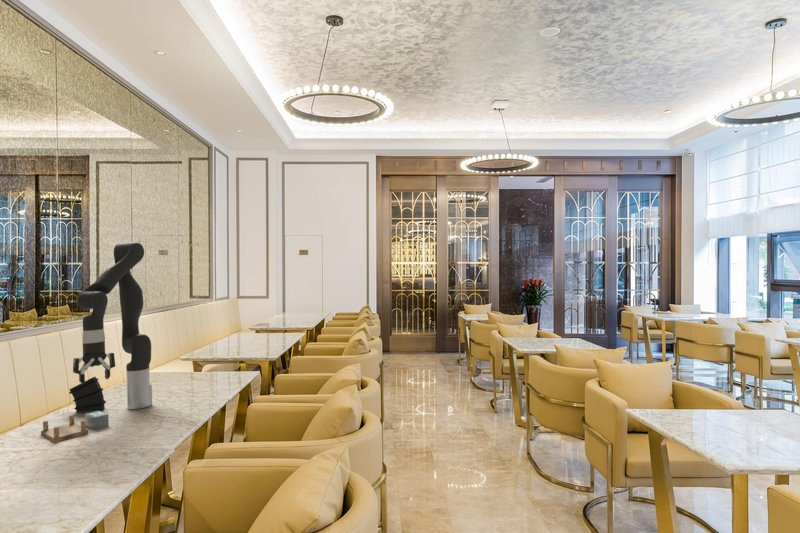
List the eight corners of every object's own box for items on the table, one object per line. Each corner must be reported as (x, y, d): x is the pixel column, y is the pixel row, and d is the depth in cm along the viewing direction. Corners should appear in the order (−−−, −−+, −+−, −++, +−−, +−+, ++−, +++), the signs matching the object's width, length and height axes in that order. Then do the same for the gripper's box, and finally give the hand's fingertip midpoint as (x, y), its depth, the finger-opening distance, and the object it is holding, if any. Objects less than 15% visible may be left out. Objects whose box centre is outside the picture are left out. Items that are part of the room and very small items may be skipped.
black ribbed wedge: (108, 406, 210) (92, 377, 209) (80, 421, 208) (63, 392, 207) (112, 404, 214) (96, 375, 213) (85, 418, 212) (68, 390, 211)
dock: (74, 426, 189) (74, 414, 189) (88, 433, 179) (87, 420, 180) (41, 434, 180) (40, 421, 180) (54, 442, 171) (53, 428, 171)
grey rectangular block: (98, 422, 193) (98, 410, 193) (108, 426, 188) (108, 413, 188) (85, 426, 189) (84, 413, 189) (94, 430, 184) (94, 417, 184)
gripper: (109, 337, 196) (110, 376, 196) (69, 342, 185) (71, 383, 185) (116, 339, 192) (118, 378, 192) (76, 344, 181) (77, 386, 181)
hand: (95, 381), depth 189 cm, fingers open, 8 cm apart
